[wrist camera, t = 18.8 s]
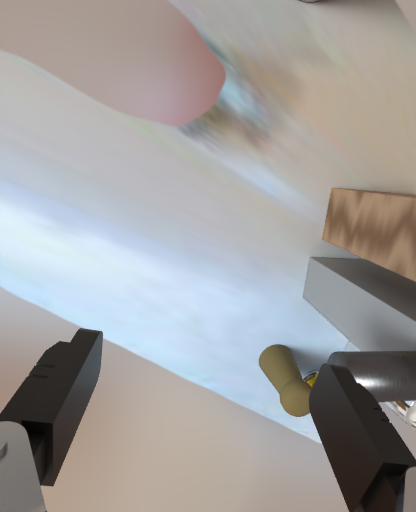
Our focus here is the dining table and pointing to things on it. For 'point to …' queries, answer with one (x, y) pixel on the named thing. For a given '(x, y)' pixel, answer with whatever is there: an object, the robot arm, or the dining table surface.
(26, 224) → the dining table surface
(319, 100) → the dining table surface
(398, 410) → the beer glass
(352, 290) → the grey magazine holder
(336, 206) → the tall stand
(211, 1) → the dining table surface
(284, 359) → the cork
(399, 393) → the black gold-banded rod
